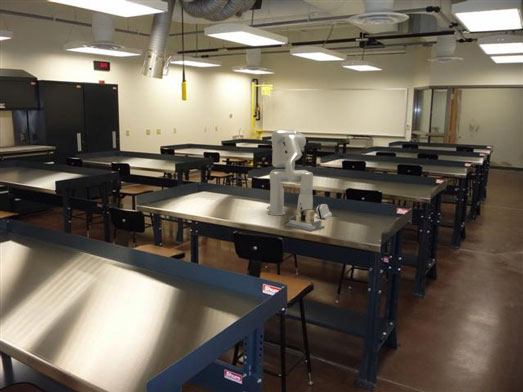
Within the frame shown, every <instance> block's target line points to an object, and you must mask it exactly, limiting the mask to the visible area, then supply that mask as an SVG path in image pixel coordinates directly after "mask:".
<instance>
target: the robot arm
mask: <svg viewBox="0 0 523 392" xmlns="http://www.w3.org/2000/svg"><path fill="white" fill-rule="evenodd" d="M306 143H307V139H306V136H305V135H304V134H303V133H301V132H300V131H298V130H296V129H275V130H274V131H272V133H271V144H272V156H271V157H272V158H271V159H272V160H271V161H272V162H271V163H272V166H273V167H274V168H275V169H272V170H271V171H270V173H269V174H268V175H269V184H270V190H269V191H270V192H269V193H270V195H269V199H270V200H269V201H270V202H269V205H268V206H267V207H266V210H268V211H267V215H271V216H285V215H286V212H285V210H284V206H285V205H284V202H285V199H284V198H285V189H284V186H283V185H282V184H283V183H300V189H299V190H300V191H299V194H298V198H297V199H298V200H297V208H298V211H299V212H300V214H301V221H305V216H306V215H305V210H313V209H314V208H313V206H314V204H313V203H314V198H313V197H314V196H313V183H314V182H313V181H314V174H313V173H314V172H311V171H308V170H306V169H298V170H297V169H295V167H296V166H295V164H296V161H298V160H299V159H301V157H302V155H303V154H302V151H301V148H303V147H305V146H306ZM277 168H279V169H277Z"/></svg>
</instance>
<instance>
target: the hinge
mask: <svg viewBox="0 0 523 392" xmlns="http://www.w3.org/2000/svg"><path fill="white" fill-rule="evenodd" d="M315 212H316V214H317V220H320V219H324V221H326V220H328V219H329V218H330V217H333V214H332V212H331V211H330V209H329V205H328V204H326V203H322V204H318V205H317V207H316V210H315Z"/></svg>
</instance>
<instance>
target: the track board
mask: <svg viewBox="0 0 523 392" xmlns="http://www.w3.org/2000/svg"><path fill="white" fill-rule="evenodd" d="M285 226H286V227H290V228H293V229H294V228H295V229H298V230H302V231H306V232H309V233H312V232H314V231H318V230H322V229H325V226H324V225H322V220H320V219H317V220H314V222H312V224H308V223H303V222H299V221H296V214H295V215H291V216H289V217H288V223H285Z"/></svg>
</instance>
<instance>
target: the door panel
mask: <svg viewBox="0 0 523 392" xmlns="http://www.w3.org/2000/svg"><path fill="white" fill-rule="evenodd" d="M315 212H316V210H313V209H312V210H305V215H306V216H305V221H301V214H300V212H299V211H298V207H297V208H296V214H295V215H296V221H299V222H303V223H308V224H312V222H314V221H315Z"/></svg>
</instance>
